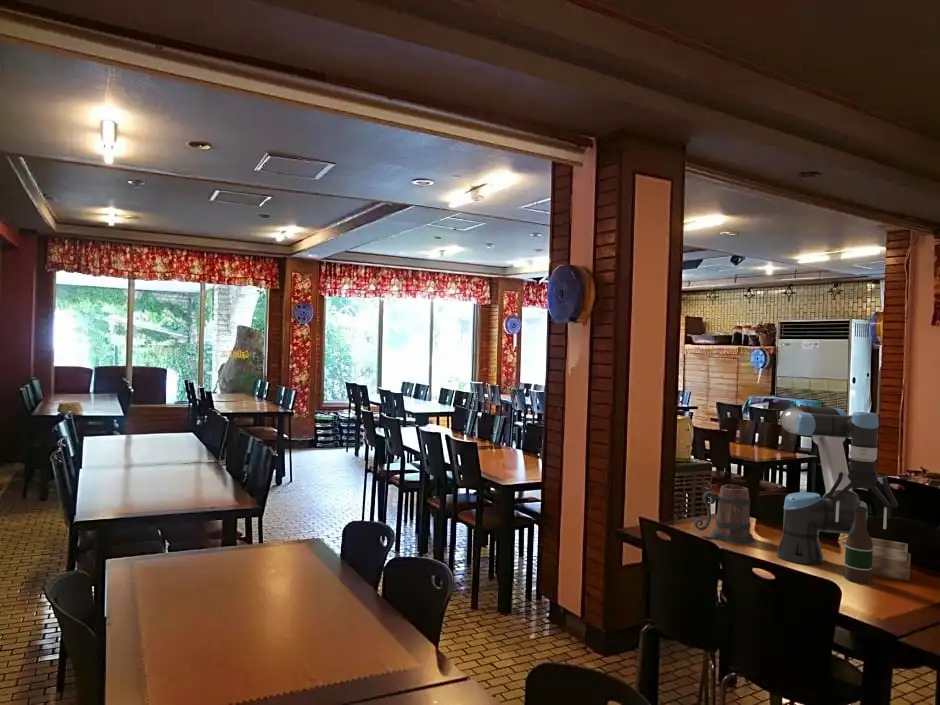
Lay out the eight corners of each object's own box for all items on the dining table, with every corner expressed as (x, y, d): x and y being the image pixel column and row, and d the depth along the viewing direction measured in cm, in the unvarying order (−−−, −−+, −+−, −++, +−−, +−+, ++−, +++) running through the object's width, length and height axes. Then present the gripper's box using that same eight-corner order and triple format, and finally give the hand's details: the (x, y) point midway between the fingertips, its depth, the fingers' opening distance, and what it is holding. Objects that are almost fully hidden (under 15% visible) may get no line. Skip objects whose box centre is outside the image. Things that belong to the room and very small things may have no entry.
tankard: (745, 532, 284) (747, 484, 284) (762, 544, 267) (764, 492, 267) (688, 530, 285) (690, 481, 285) (700, 541, 268) (703, 489, 268)
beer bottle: (870, 579, 230) (873, 506, 229) (872, 586, 223) (876, 511, 222) (843, 575, 233) (846, 503, 233) (844, 581, 226) (848, 507, 226)
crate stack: (857, 572, 237) (858, 544, 237) (860, 561, 249) (861, 535, 249) (909, 581, 229) (910, 553, 228) (910, 570, 241) (911, 543, 241)
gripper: (819, 456, 231) (816, 520, 231) (908, 465, 218) (905, 533, 218) (821, 454, 237) (819, 516, 237) (908, 463, 224) (905, 529, 224)
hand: (860, 524), depth 227 cm, fingers open, 13 cm apart
